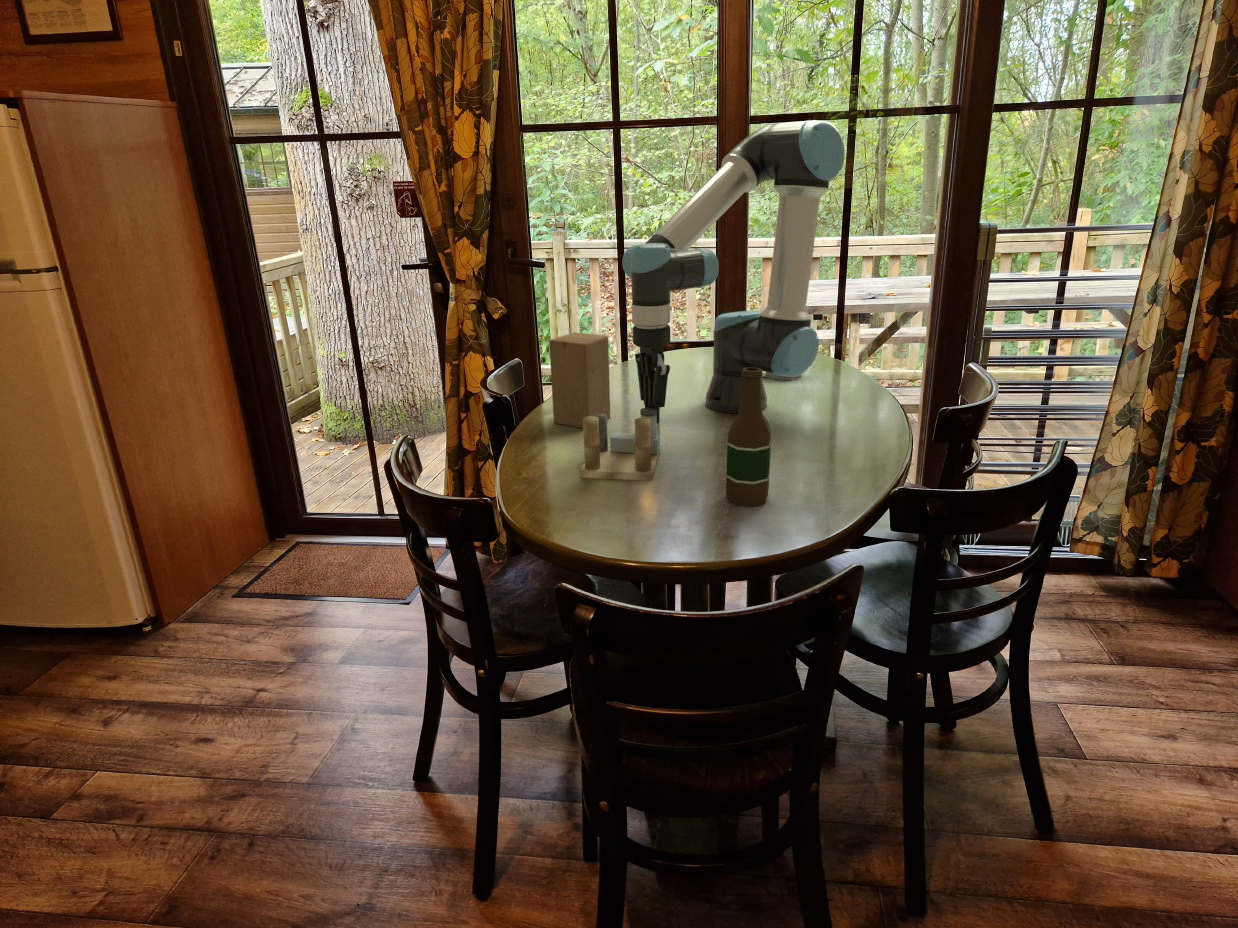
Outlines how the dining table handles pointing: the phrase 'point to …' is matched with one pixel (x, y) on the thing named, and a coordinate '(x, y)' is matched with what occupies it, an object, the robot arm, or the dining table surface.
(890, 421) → the dining table surface
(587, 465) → the wooden twin post stand
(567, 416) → the wooden block
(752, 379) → the beer bottle
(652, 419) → the hinged leg
